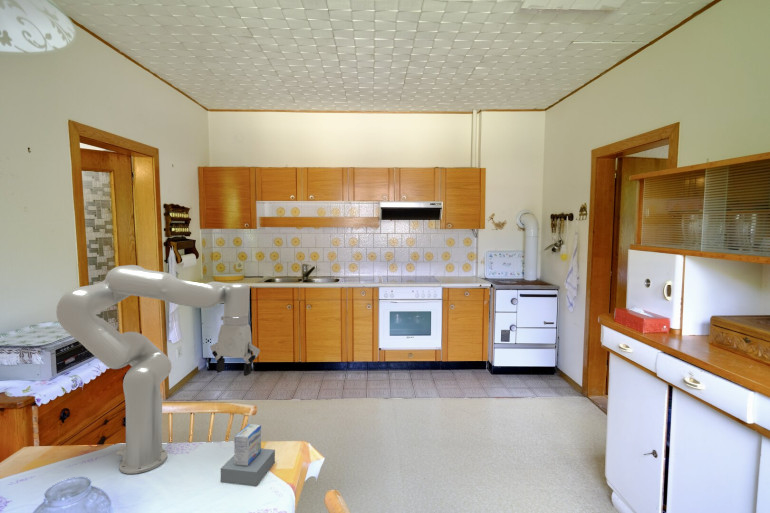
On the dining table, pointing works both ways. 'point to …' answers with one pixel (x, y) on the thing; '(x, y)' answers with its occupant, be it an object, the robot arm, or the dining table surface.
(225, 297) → the robot arm
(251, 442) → the medicine box
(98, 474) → the dining table surface
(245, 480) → the base block
